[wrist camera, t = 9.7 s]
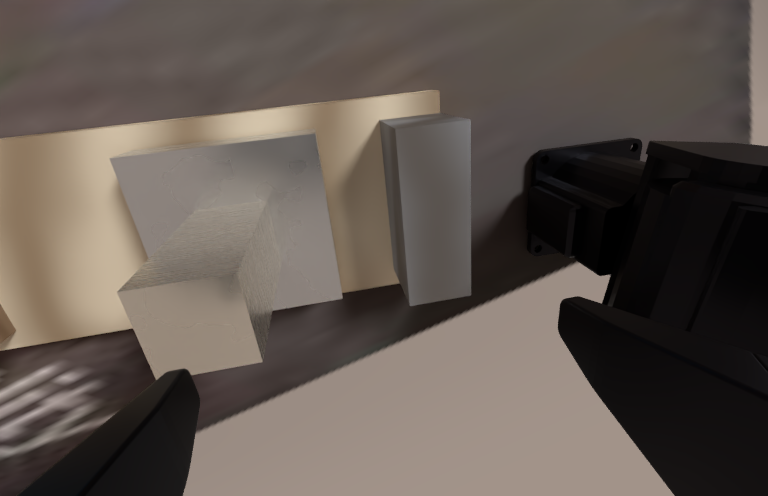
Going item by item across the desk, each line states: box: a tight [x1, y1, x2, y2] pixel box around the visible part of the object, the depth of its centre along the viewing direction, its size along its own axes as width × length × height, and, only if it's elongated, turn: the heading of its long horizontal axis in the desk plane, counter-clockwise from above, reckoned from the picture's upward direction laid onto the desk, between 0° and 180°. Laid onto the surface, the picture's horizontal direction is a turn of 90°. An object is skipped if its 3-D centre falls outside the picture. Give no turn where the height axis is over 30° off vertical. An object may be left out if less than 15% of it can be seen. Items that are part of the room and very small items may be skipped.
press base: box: [0, 90, 471, 351], centre depth 18 cm, size 24×10×6 cm, turn 96°
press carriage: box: [109, 128, 343, 380], centre depth 15 cm, size 8×8×9 cm
